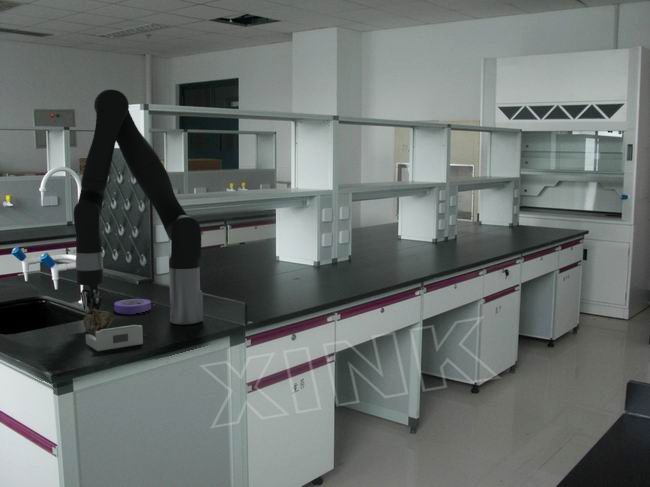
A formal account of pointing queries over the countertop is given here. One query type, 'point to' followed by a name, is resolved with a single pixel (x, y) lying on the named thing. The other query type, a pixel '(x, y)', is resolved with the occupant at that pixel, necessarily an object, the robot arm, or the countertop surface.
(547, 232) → the countertop surface
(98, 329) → the mineral rock
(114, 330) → the dock
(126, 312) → the masking tape
